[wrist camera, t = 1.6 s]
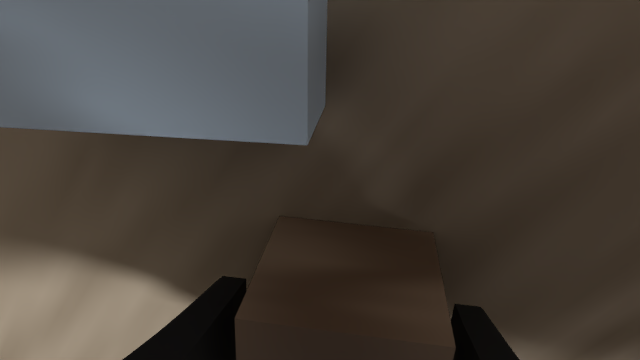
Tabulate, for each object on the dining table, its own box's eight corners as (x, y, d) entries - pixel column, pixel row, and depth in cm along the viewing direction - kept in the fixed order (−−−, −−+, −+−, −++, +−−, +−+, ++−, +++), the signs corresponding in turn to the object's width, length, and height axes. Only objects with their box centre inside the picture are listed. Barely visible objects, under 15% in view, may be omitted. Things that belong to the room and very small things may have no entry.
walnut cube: (433, 230, 11) (456, 347, 8) (412, 347, 13) (423, 488, 9) (280, 214, 12) (234, 318, 8) (278, 329, 13) (240, 458, 10)
